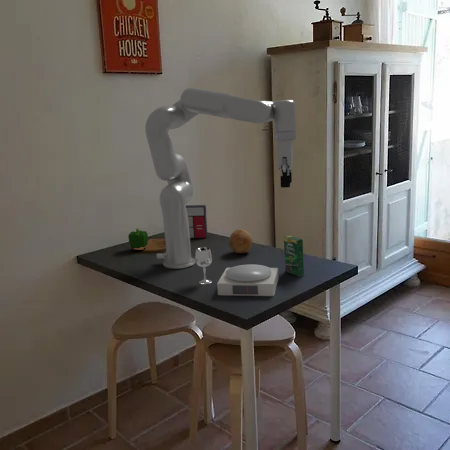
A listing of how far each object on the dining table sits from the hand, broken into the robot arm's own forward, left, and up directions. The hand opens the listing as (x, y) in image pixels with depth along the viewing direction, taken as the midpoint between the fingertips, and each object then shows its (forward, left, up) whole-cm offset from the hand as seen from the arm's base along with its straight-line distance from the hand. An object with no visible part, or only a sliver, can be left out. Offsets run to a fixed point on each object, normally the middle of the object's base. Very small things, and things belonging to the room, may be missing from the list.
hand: (286, 185), depth 183 cm
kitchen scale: (-11, -22, -30) cm, 39 cm away
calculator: (-46, +41, -31) cm, 69 cm away
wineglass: (-27, -18, -31) cm, 45 cm away
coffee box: (+3, -8, -31) cm, 32 cm away
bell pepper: (-66, +22, -31) cm, 76 cm away
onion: (-20, +17, -31) cm, 40 cm away
